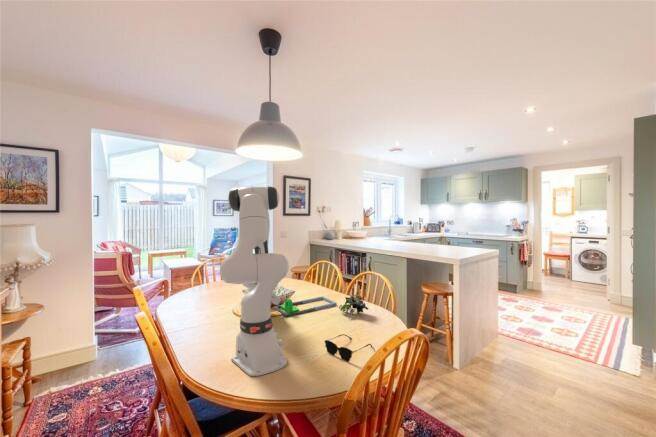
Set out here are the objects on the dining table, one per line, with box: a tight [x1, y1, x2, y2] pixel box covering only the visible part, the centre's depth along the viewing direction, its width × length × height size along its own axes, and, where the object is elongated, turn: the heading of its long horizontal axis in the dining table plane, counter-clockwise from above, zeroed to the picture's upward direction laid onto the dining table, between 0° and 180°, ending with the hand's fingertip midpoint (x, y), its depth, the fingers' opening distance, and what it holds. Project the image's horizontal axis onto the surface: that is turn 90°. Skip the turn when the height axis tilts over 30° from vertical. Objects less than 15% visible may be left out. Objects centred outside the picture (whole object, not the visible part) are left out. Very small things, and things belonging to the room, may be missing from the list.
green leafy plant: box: [338, 294, 369, 317], centre depth 148 cm, size 13×12×14 cm
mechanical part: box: [279, 298, 300, 314], centre depth 155 cm, size 12×6×8 cm, turn 33°
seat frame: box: [273, 300, 316, 318], centre depth 156 cm, size 16×18×1 cm
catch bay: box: [301, 295, 337, 311], centre depth 165 cm, size 15×15×2 cm
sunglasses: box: [324, 334, 373, 362], centre depth 111 cm, size 14×16×5 cm
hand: (278, 303), depth 151 cm, fingers closed
